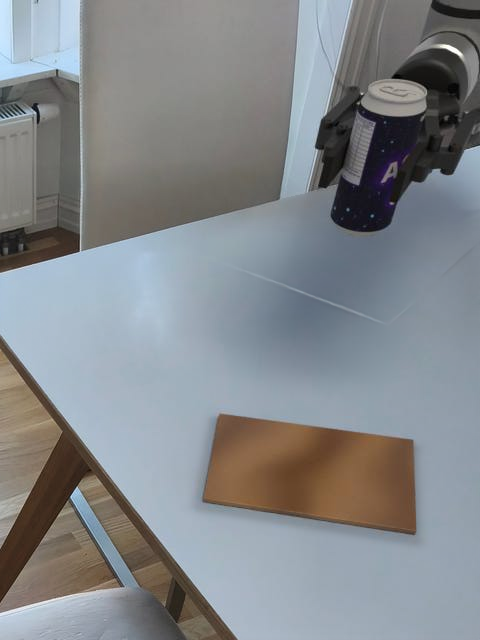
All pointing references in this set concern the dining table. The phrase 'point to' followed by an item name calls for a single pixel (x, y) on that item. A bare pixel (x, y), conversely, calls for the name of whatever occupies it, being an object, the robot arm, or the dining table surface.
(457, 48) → the robot arm
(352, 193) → the beverage can
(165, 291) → the dining table surface
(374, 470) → the copper plate
